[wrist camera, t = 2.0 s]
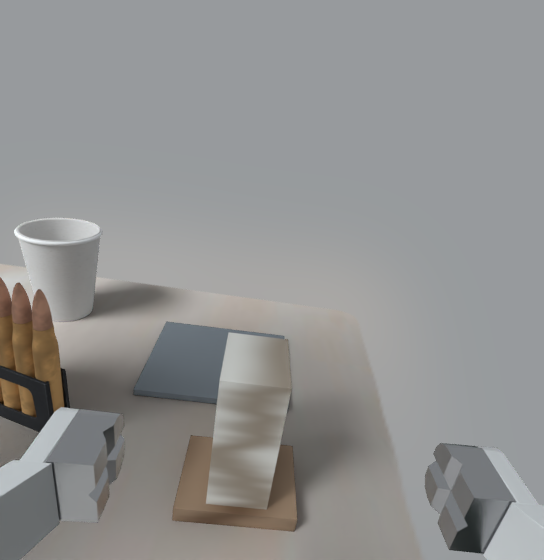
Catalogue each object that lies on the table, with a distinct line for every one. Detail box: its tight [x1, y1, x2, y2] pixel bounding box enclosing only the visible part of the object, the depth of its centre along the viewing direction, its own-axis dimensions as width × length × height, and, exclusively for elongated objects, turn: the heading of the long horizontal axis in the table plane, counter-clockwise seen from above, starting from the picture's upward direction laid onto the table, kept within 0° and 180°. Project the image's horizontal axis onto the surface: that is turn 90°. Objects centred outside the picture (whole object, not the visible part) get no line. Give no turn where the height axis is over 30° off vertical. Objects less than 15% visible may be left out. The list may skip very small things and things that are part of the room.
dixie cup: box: [14, 218, 102, 322], centre depth 44 cm, size 8×8×10 cm
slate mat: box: [134, 322, 289, 412], centre depth 41 cm, size 14×12×1 cm
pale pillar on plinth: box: [172, 332, 297, 531], centre depth 26 cm, size 8×6×11 cm
